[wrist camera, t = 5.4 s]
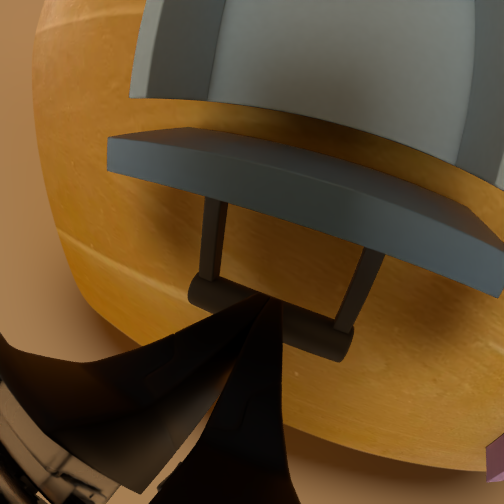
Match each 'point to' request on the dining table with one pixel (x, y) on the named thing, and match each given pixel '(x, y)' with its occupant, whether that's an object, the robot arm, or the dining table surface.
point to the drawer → (336, 111)
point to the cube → (495, 460)
